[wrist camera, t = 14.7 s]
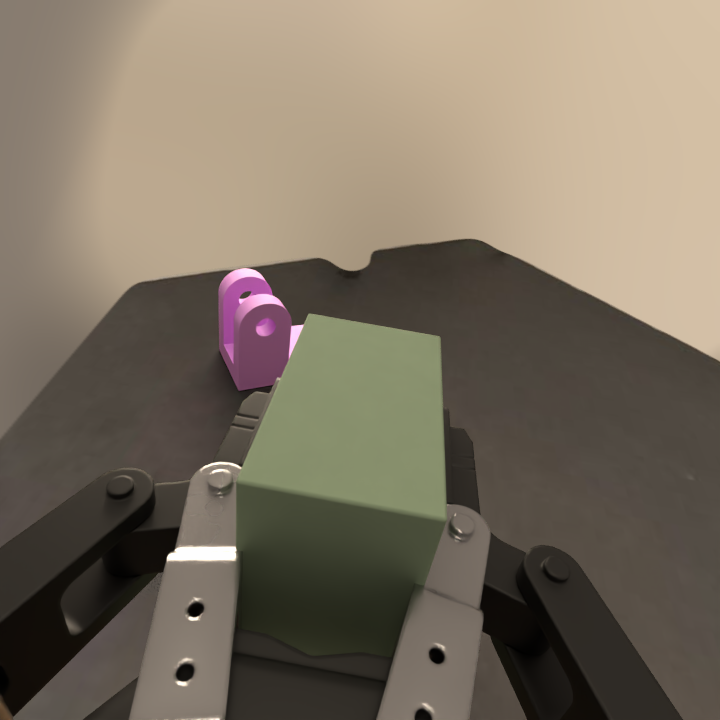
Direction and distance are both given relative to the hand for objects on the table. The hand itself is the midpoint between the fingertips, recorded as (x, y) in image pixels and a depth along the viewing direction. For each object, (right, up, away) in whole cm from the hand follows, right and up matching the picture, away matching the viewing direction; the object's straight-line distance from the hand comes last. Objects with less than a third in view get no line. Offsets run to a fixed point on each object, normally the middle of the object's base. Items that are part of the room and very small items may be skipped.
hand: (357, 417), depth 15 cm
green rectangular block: (-1, -6, +1) cm, 7 cm away
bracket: (-4, +2, +27) cm, 28 cm away
